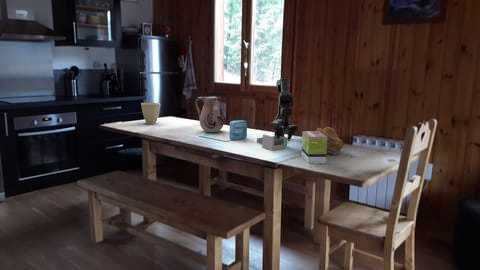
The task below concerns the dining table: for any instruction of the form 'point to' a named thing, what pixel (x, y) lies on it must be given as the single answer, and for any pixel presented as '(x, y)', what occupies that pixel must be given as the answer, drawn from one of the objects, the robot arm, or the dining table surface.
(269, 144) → the grey block
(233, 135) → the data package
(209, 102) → the ceramic pitcher
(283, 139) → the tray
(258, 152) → the dining table surface
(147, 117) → the plant pot
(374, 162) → the dining table surface
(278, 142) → the caddy
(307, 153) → the tea box
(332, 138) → the rough brown rock
